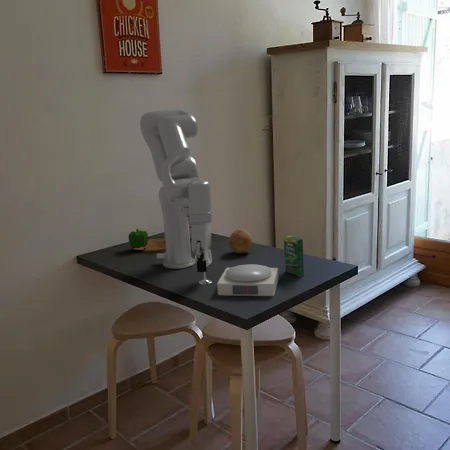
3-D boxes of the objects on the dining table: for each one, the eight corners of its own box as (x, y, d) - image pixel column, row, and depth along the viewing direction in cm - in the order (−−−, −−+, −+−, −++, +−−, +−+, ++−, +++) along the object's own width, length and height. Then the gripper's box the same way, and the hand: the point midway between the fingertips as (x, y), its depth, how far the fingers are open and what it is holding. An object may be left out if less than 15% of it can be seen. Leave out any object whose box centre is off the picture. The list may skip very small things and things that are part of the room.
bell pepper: (133, 247, 229) (130, 225, 226) (151, 246, 227) (148, 224, 225) (127, 252, 221) (124, 230, 218) (145, 252, 219) (143, 229, 217)
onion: (258, 252, 209) (257, 229, 207) (238, 258, 204) (237, 233, 201) (244, 248, 217) (243, 225, 214) (224, 253, 211) (223, 229, 209)
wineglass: (207, 286, 174) (205, 252, 172) (193, 283, 177) (191, 250, 175) (216, 280, 179) (214, 247, 176) (203, 278, 182) (200, 245, 179)
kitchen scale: (217, 295, 165) (216, 279, 164) (227, 278, 181) (226, 263, 179) (273, 296, 161) (273, 280, 160) (278, 278, 177) (277, 263, 176)
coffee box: (284, 271, 185) (283, 236, 182) (290, 269, 186) (289, 234, 183) (297, 277, 178) (296, 240, 175) (304, 275, 179) (303, 239, 176)
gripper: (196, 212, 182) (199, 261, 186) (183, 223, 165) (187, 277, 170) (216, 212, 180) (220, 261, 185) (205, 223, 164) (209, 277, 168)
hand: (204, 268), depth 177 cm, fingers closed on wineglass, 5 cm apart
